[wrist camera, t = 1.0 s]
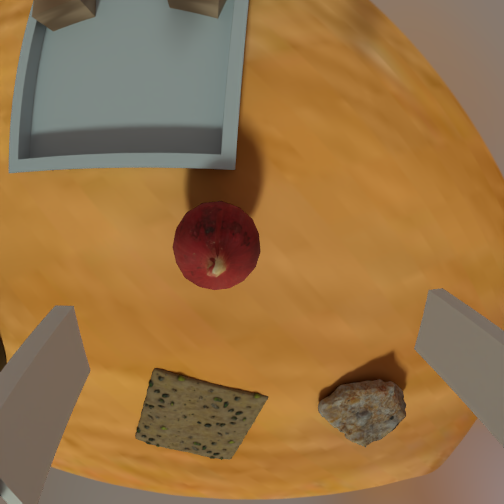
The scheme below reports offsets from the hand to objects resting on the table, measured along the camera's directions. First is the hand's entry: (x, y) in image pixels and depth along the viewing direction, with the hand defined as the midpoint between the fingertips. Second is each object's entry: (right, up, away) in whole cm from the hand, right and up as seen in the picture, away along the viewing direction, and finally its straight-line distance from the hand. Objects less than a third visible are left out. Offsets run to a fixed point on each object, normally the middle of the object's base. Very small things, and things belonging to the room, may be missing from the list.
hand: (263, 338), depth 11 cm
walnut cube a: (-15, +23, +7) cm, 29 cm away
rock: (+12, -14, +22) cm, 29 cm away
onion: (-3, +4, +15) cm, 16 cm away
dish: (-10, +18, +9) cm, 23 cm away
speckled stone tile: (-6, -15, +21) cm, 26 cm away
